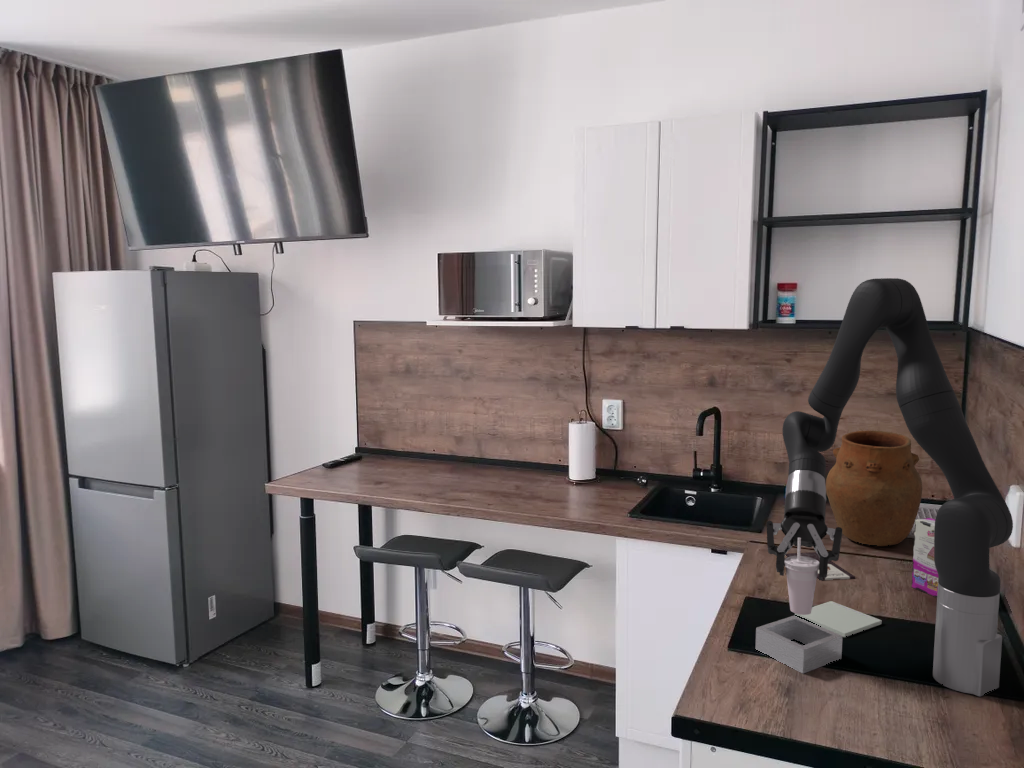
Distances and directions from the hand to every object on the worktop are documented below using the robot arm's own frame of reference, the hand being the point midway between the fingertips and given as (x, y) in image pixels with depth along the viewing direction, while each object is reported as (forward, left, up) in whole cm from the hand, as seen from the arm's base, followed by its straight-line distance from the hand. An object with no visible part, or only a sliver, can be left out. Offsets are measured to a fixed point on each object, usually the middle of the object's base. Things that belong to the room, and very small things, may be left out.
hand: (801, 575), depth 142 cm
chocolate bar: (+30, -45, -17) cm, 57 cm away
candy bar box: (+4, -53, -16) cm, 56 cm away
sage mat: (+7, -21, -16) cm, 28 cm away
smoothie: (+1, -1, -8) cm, 8 cm away
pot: (+36, -75, -16) cm, 85 cm away
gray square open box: (+1, -1, -16) cm, 16 cm away
